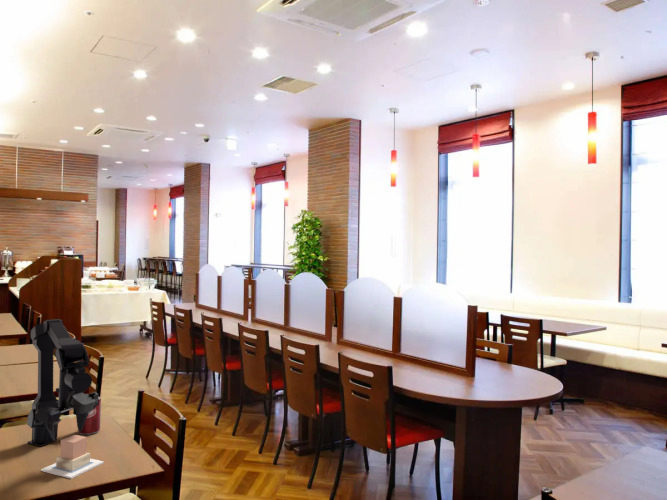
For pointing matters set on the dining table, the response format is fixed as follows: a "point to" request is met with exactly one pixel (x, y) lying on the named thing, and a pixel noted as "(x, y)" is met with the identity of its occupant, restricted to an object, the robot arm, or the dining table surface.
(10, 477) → the dining table surface
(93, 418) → the soda can
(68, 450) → the terracotta cube
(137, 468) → the dining table surface
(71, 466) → the maple block
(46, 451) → the dining table surface
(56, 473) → the board
